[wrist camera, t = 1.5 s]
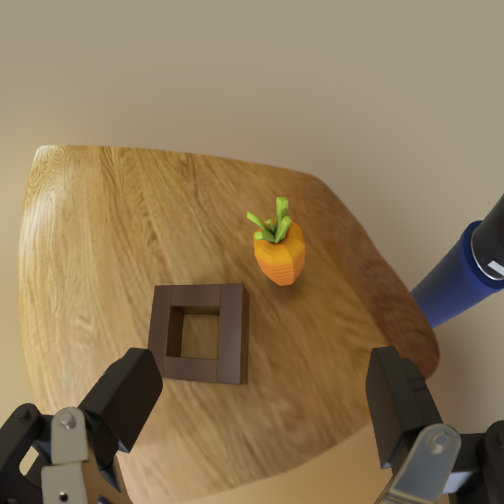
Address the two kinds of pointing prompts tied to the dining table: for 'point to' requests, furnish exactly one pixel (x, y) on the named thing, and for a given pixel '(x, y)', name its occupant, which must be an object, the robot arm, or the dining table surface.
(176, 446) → the dining table surface
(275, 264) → the carrot
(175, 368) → the socket block
